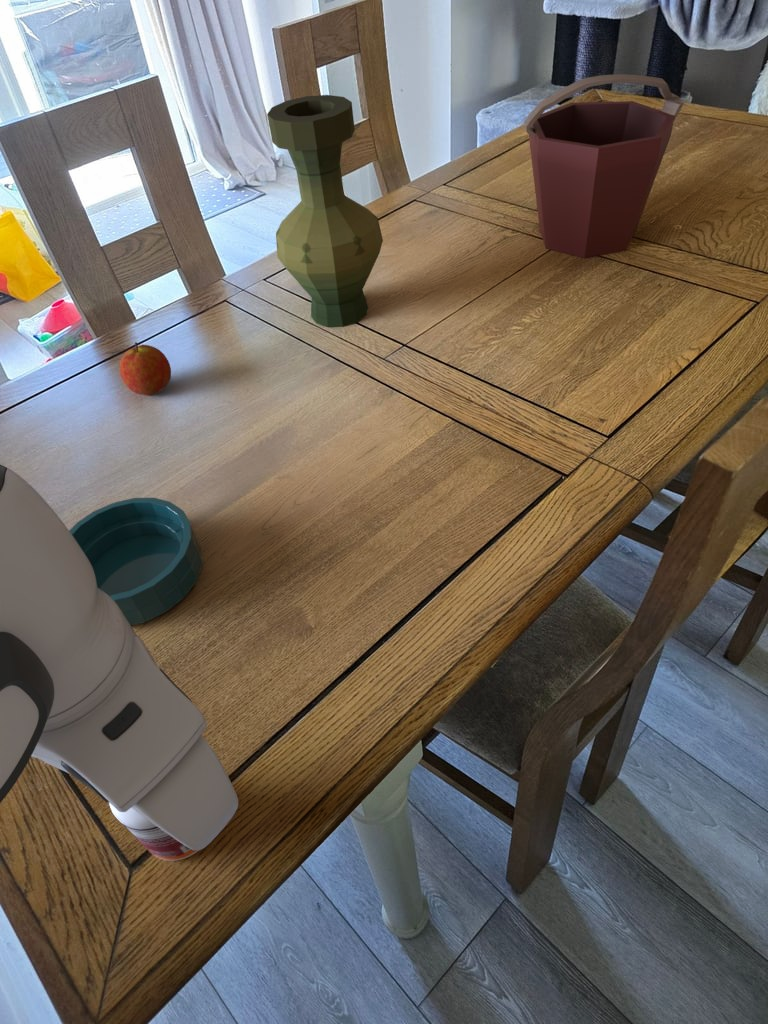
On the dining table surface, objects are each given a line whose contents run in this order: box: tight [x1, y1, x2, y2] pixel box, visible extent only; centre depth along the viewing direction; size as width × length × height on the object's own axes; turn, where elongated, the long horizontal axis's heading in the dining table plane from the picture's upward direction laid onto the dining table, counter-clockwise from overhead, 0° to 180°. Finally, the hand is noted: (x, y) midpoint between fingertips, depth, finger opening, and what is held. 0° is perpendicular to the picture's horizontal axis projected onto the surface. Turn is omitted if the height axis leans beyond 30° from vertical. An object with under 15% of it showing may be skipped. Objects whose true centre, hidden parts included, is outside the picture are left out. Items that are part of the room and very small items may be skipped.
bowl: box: [68, 497, 203, 626], centre depth 75 cm, size 15×15×5 cm
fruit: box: [119, 342, 172, 397], centre depth 99 cm, size 7×7×8 cm
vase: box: [266, 94, 384, 328], centre depth 103 cm, size 16×16×30 cm
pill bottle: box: [108, 802, 200, 862], centre depth 54 cm, size 6×6×11 cm
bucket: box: [523, 73, 685, 259], centre depth 115 cm, size 24×22×25 cm
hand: (149, 773), depth 51 cm, fingers open, 8 cm apart
